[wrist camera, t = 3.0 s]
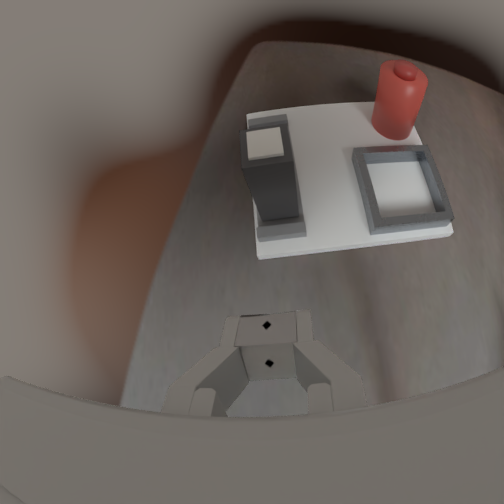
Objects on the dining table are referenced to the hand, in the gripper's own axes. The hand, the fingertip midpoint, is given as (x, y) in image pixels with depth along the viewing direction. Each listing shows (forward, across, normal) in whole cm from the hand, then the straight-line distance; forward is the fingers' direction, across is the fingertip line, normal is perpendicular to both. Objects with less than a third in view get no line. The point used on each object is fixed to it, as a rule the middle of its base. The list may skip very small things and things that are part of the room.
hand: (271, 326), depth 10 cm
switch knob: (+19, 0, +2) cm, 19 cm away
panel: (+23, -8, 0) cm, 24 cm away
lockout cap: (+26, -14, -5) cm, 30 cm away
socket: (+19, -12, +2) cm, 23 cm away
